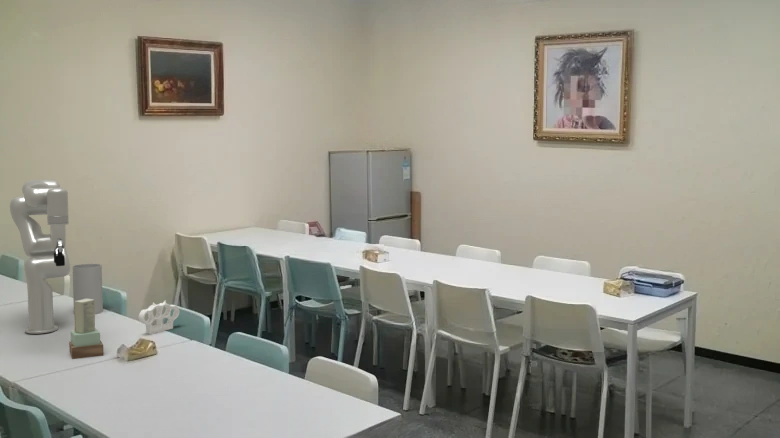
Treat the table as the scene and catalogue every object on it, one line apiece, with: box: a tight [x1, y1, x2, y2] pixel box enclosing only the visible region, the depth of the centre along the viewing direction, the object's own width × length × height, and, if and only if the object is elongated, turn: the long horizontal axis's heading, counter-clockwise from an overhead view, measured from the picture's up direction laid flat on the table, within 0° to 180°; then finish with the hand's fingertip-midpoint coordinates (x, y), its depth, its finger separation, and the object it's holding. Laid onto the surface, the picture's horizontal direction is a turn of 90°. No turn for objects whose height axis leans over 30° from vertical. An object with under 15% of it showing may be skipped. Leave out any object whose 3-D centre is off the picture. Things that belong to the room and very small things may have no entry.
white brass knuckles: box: [138, 300, 180, 335], centre depth 320 cm, size 3×18×15 cm, turn 142°
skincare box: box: [73, 298, 96, 333], centre depth 288 cm, size 6×4×12 cm
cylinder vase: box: [72, 263, 104, 316], centre depth 350 cm, size 12×12×25 cm
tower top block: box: [70, 327, 101, 347], centre depth 289 cm, size 9×9×4 cm
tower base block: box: [68, 339, 104, 360], centre depth 289 cm, size 11×11×4 cm
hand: (59, 264), depth 295 cm, fingers open, 9 cm apart
